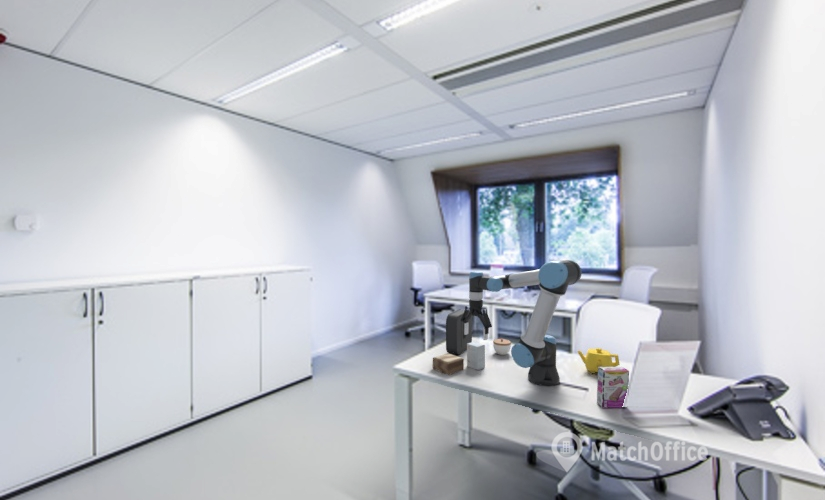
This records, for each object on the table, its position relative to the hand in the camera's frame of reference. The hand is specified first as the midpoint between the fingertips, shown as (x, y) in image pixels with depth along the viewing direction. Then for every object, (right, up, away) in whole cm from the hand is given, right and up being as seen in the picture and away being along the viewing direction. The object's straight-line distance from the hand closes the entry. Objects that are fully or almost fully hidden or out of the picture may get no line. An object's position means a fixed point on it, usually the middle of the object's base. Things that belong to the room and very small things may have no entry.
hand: (475, 336), depth 195 cm
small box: (0, -17, 0) cm, 17 cm away
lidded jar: (+21, -16, +23) cm, 35 cm away
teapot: (+64, -17, -8) cm, 67 cm away
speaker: (-4, -16, +29) cm, 33 cm away
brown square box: (-16, -17, -2) cm, 23 cm away
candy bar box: (+51, -19, -45) cm, 70 cm away
